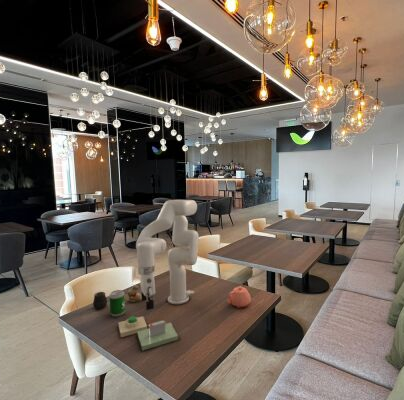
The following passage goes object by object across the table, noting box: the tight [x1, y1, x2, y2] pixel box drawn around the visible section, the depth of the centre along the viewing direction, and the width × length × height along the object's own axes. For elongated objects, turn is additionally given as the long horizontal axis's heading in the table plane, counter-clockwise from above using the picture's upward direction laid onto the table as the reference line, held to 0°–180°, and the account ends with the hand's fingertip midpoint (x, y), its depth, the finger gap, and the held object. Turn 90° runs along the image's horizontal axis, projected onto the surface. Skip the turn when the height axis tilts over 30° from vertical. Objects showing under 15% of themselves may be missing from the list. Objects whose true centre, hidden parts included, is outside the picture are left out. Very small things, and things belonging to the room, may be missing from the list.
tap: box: [148, 319, 166, 337], centre depth 122 cm, size 7×2×5 cm, turn 118°
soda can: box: [108, 289, 126, 318], centre depth 143 cm, size 8×8×12 cm
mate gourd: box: [92, 291, 108, 310], centre depth 150 cm, size 7×8×10 cm
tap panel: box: [136, 322, 179, 351], centre depth 123 cm, size 16×12×2 cm
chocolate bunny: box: [126, 284, 142, 303], centre depth 158 cm, size 6×8×10 cm
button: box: [127, 315, 137, 323], centre depth 130 cm, size 4×4×2 cm
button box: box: [118, 316, 148, 338], centre depth 130 cm, size 12×10×4 cm
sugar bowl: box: [227, 285, 252, 309], centre depth 152 cm, size 12×14×10 cm
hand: (147, 304), depth 123 cm, fingers open, 9 cm apart
